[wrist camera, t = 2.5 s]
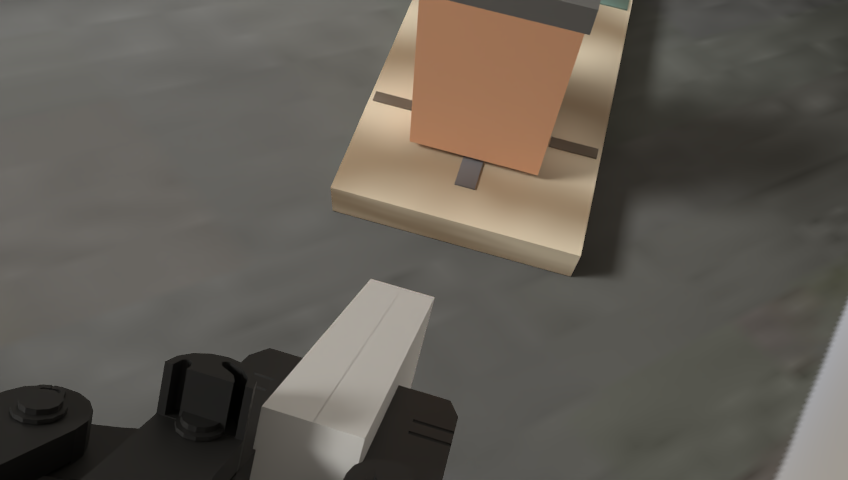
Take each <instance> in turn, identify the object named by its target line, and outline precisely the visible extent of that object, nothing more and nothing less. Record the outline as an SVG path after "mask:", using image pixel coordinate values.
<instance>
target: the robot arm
mask: <svg viewBox="0 0 848 480" xmlns="http://www.w3.org/2000/svg"><path fill="white" fill-rule="evenodd" d="M434 298H435V297H432V296H428V295H425V294H421V293H418V292H414V291H411V290H408V289H404V288H401V287H397V286H394V285H390V284H387V283H383V282H380V281H376V280H373V279H370V280H369V282H368V283H367V284H366V285H365V286H364V287H363V289H362V290H361V291H360V292H359V293H358V294H357V296H356V297H355V298H354V299H353V300H352V301H351V303H350V304H349V305H348V306H347V307H346V308H345V310H344V311H343V312H342V313H341V314H340V315H339V317H338V318H337V319H336V320H335V321H334V322H333V324H332V325H331V326H330V327H329V328H328V329H327V331H326V332H325V333H324V334H323V335H322V336H321V338H320V339H319V340H318V341H317V342H316V343H315V345H314V346H313V347H312V348H311V349H310V350H309V352H308V353H307V354H306V355H305V356H304V357H303V358H301V357H297V356H294V355H291V354H287V353H284V352H281V351H278V350H274V349H271V348H269V349H266V350H263V351H260V352H257V353H254V354H251V355H249V356H248V357H246V358H245V359H244V360H243V361H242V362H238V361H236V360H234V359H231V358H229V357H224V356H219V355H215V354H200V353H192V354H186V355H180V356H176V357H174V358H172V359H170V360H168V361H165V366H164V372H163V378H162V384H161V390H160V396H159V402H158V408H157V413H156V414H155V415H154V416H153V417H152V418H151V419H150V420H148V421H147V422H146V423H145V424H144V425H143V426H142V427H140V428H139V429H136V428H120V427H111V426H102V425H94V424H91V422H92V415H93V409H92V406H91V403H90V401H89V400H88V399H86V398H85V397H84V396H83V395H81V394H80V393H78V392H75V391H72V390H69V389H66V388H63V387H59V386H52V385H38V386H23V387H19V388H15V389H11V390H7V391H4V392H1V393H0V480H442V478H443V474H444V471H445V467H446V463H447V459H448V455H449V451H450V446H451V443H452V439H453V434H454V431H455V427H456V423H457V419H458V416H457V414H456V412H455V410H454V407H453V405H452V403H451V401H449V400H446V399H443V398H439V397H436V396H433V395H429V394H426V393H423V392H420V391H416V390H413V389H411V385H412V381H413V377H414V373H415V370H416V366H417V362H418V358H419V355H420V351H421V347H422V343H423V339H424V336H425V332H426V328H427V324H428V321H429V317H430V313H431V309H432V305H433V302H434Z"/></svg>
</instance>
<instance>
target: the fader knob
mask: <svg viewBox="0 0 848 480" xmlns="http://www.w3.org/2000/svg"><path fill="white" fill-rule="evenodd" d="M600 1H601V0H419V5H418V20H417V35H416V51H415V66H414V81H413V96H412V112H411V127H410V142H414V143H418V144H422V145H425V146H429V147H433V148H437V149H440V150H444V151H448V152H452V153H455V154H459V155H463V156H467V157H470V158H474V159H478V160H482V161H485V162H489V163H493V164H497V165H501V166H504V167H508V168H512V169H516V170H519V171H523V172H527V173H531V174H534V175H538V173H539V170H540V167H541V164H542V161H543V158H544V155H545V152H546V149H547V146H548V143H549V140H550V137H551V134H552V131H553V128H554V125H555V122H556V119H557V116H558V113H559V110H560V107H561V104H562V101H563V98H564V95H565V92H566V89H567V86H568V83H569V80H570V77H571V74H572V71H573V67H574V64H575V61H576V58H577V55H578V52H579V49H580V46H581V43H582V40H583V37H584V34H587V35H590V33H591V30H592V27H593V25H594V22H595V19H596V16H597V13H598V10H599V5H600Z"/></svg>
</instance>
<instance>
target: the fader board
mask: <svg viewBox="0 0 848 480" xmlns="http://www.w3.org/2000/svg"><path fill="white" fill-rule="evenodd" d="M632 1H633V0H601V1H600V5H599V10H598V13H597V16H596V19H595V22H594V25H593V27H592V30H591V33H590V35H587V34H584V37H583V40H582V43H581V46H580V49H579V52H578V55H577V58H576V61H575V64H574V67H573V71H572V74H571V77H570V80H569V83H568V86H567V89H566V92H565V95H564V98H563V101H562V104H561V107H560V110H559V113H558V116H557V119H556V122H555V125H554V128H553V131H552V134H551V137H550V140H549V143H548V146H547V149H546V152H545V155H544V158H543V161H542V164H541V167H540V170H539V173H538V175H534V174H531V173H527V172H523V171H519V170H516V169H512V168H508V167H504V166H501V165H497V164H493V163H489V162H485V161H482V160H478V159H474V158H470V157H467V156H463V155H459V154H455V153H452V152H448V151H444V150H440V149H437V148H433V147H429V146H425V145H422V144H418V143H414V142H410V127H411V112H412V96H413V81H414V66H415V51H416V35H417V20H418V5H419V0H412V2H411V4H410V7H409V9H408V11H407V14H406V16H405V18H404V20H403V23H402V25H401V27H400V30H399V32H398V34H397V37H396V39H395V41H394V43H393V46H392V48H391V50H390V53H389V55H388V57H387V59H386V62H385V64H384V66H383V69H382V71H381V73H380V76H379V78H378V80H377V82H376V85H375V87H374V89H373V92H372V94H371V96H370V98H369V101H368V103H367V105H366V108H365V110H364V112H363V115H362V117H361V119H360V121H359V124H358V126H357V128H356V131H355V133H354V135H353V137H352V140H351V142H350V144H349V147H348V149H347V151H346V154H345V156H344V158H343V160H342V163H341V165H340V167H339V170H338V172H337V174H336V177H335V179H334V181H333V183H332V186H331V196H332V207H333V211H336V212H340V213H343V214H347V215H351V216H354V217H358V218H361V219H365V220H369V221H372V222H376V223H379V224H383V225H387V226H390V227H394V228H397V229H401V230H405V231H408V232H412V233H415V234H419V235H423V236H426V237H430V238H433V239H437V240H441V241H444V242H448V243H451V244H455V245H459V246H462V247H466V248H469V249H473V250H477V251H480V252H484V253H487V254H491V255H495V256H498V257H502V258H505V259H509V260H513V261H516V262H520V263H523V264H527V265H531V266H534V267H538V268H541V269H545V270H549V271H552V272H556V273H559V274H563V275H567V276H570V277H571V275H572V273H573V271H574V269H575V267H576V265H577V263H578V261H579V259H580V257H581V253H582V248H583V243H584V238H585V233H586V228H587V223H588V218H589V213H590V209H591V204H592V199H593V194H594V189H595V184H596V179H597V174H598V169H599V164H600V159H601V154H602V149H603V144H604V139H605V135H606V130H607V125H608V120H609V115H610V110H611V105H612V100H613V95H614V90H615V85H616V80H617V75H618V70H619V66H620V61H621V56H622V51H623V46H624V41H625V36H626V31H627V26H628V21H629V16H630V11H631V6H632Z"/></svg>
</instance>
